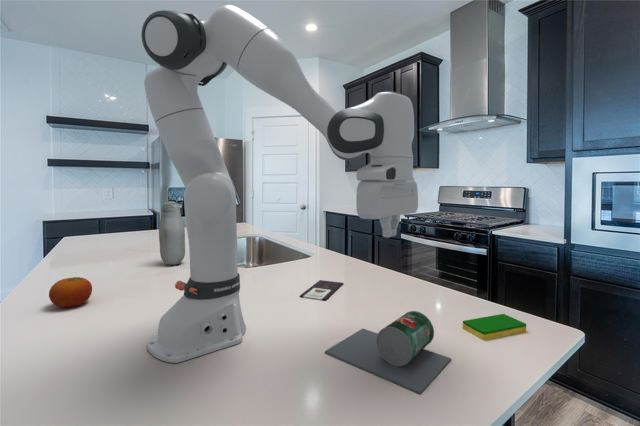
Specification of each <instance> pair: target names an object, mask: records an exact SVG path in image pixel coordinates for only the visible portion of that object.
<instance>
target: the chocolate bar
mask: <svg viewBox="0 0 640 426" xmlns="http://www.w3.org/2000/svg"><path fill="white" fill-rule="evenodd" d="M343 285H344V282H340V281H330V280H321V279H320V280H318V281H317V282H316V283H314V284H313V285H312V286H310V287H309V288H308V289H307V290H305V291H304V292H303V293H301V294H300V295H299V298H302V299H309V300H317V301H323V302H324V301H325V302H326V301H328V299H330V298H331V297H332V295H335V293H336V292H337V291H338V290H339V289H340V288H342V286H343Z"/></svg>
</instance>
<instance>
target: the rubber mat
mask: <svg viewBox="0 0 640 426" xmlns="http://www.w3.org/2000/svg"><path fill="white" fill-rule="evenodd" d="M378 333H379V332H375V331H372V330H369V329H366V328H361V329H359V330H358V331H355V333H353V334H351V335H349V336H348V337H346V338H344V339H343V340H340V341H339V342H338V343H336V344H335V345H333V346H331V347H330V348H327V349H326V350H324V354H326V355H328V356H330V357H333V358H335V359H338V360H340V361H342V362H344V363H346V364H348V365H349V364H350V365H352V366H354V367H356V368H358V369H361V370H363V371H366V372H368V373H370V374H372V375H374V376H376V377H380V378H381V379H383V380H386V381H388V382H390V383H394V384H395V385H397V386H400V387H402V388H404V389H407V390H409V391H411V392H414V393H416V394H419V395H422V394H423V392H424V391H425V390H426V389H427V388H428V387H429V386H430V385H431V383H432V382H433V381H434V380H435V379H436V377H438V375H440V373H441V372H442V371H443V370H444V369H445V368H446V367H447V365H448V364H449V363H450V362H451V361H452V358H451V357H448V356H446V355H442V354H439V353H437V352H434V351H431V350H428V349H425V348H424V349H423V350H422V351H420V352H419V353H418V354H417V355H416V356H415V357H414V358H413V359H412V360H411V361H410V362H409V363H408V364H406V365H404V366H401V367H399V366H394V365H391V364H390V363H388V362H387V361H386V360H385V359H384V358H383V357H382V356H381V354H380V353H379V350H378V348H377V342H376V341H377V335H378Z"/></svg>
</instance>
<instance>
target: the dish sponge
mask: <svg viewBox="0 0 640 426" xmlns="http://www.w3.org/2000/svg"><path fill="white" fill-rule="evenodd" d="M527 325H528V324H527V323H526V322H523V321H521V320H518V319H517V318H515V317H512V316H509V315H507V314H506V313H501V314H494V315H489V316H483V317H477V318H472V319H471V318H470V319H465V320H463V321H462V329H463V330H464V331H465V332H468V333H469V334H471V335H473V336H475V337H476V338H478V339H479V340H481V341H488V340H493V339H497V338H503V337H509V336H513V335H517V334H521V333H526V332H527Z"/></svg>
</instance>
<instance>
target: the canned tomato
mask: <svg viewBox="0 0 640 426" xmlns="http://www.w3.org/2000/svg"><path fill="white" fill-rule="evenodd" d="M433 325H434V324H433V323H432V322H431V320H430V319H429V318H428V316H427V315H425V313H422V312H421V311H417V310H410V311H407V312H405V313H404V314H403V315H401V316H400V317H398V318H396V320H394V321H392V322H391V323H389V324H387V325H386V326H385V327H383V328H382V329H380V331H378V332H377V333H378V335H377V341H376V342H377V348H378V350H379V353H380V354H381V356H382V357H383V358H384V359H385V360H386V361H387V362H388V363H390V364H391V365H394V366H399V367H401V366H404V365H406V364H408V363H409V362H410V361H411V360H412V359H413V358H414V357H415V356H416V355H417V354H418V353H419V352H420V351H422V350H423V349H425V348H426V347H427V346H428V345H429V344H430V343H432V341H433V339H434V336H435V330H434V326H433Z"/></svg>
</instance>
